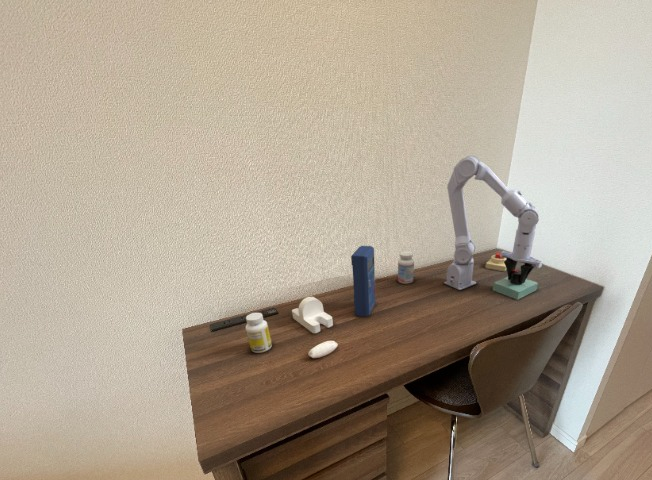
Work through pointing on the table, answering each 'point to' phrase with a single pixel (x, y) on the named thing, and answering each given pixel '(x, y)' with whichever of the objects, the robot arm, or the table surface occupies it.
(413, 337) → the table surface
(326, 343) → the white spindle
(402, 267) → the pill bottle
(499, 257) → the button
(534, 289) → the dial panel
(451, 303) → the table surface
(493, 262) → the control block
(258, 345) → the supplement bottle
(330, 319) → the slotted bracket
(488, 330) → the table surface
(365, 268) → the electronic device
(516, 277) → the dial
